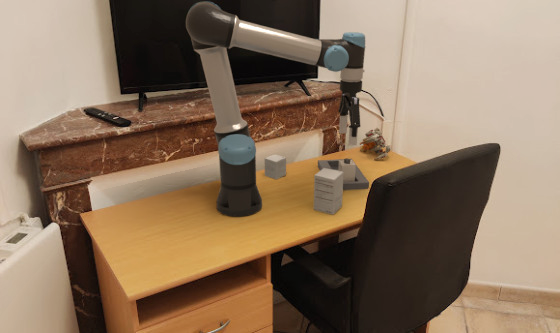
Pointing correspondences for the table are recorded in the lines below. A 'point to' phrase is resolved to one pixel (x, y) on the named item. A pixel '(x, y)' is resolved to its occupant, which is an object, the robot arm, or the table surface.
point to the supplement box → (328, 190)
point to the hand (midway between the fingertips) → (347, 139)
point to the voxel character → (375, 143)
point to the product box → (275, 166)
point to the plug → (347, 170)
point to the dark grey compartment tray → (358, 184)
